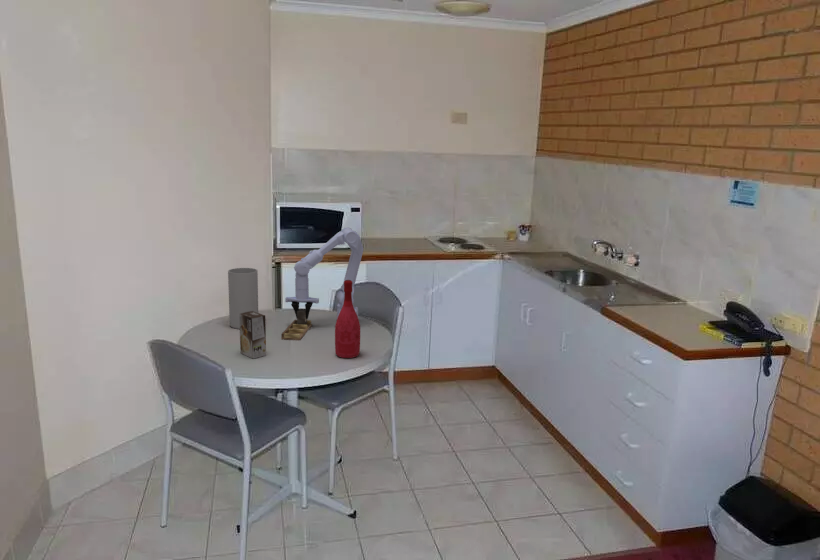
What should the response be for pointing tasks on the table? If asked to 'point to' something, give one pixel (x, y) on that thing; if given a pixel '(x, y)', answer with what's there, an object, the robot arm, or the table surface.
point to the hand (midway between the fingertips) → (302, 318)
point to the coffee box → (252, 334)
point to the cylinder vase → (242, 293)
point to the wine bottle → (347, 327)
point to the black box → (301, 316)
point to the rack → (296, 331)
